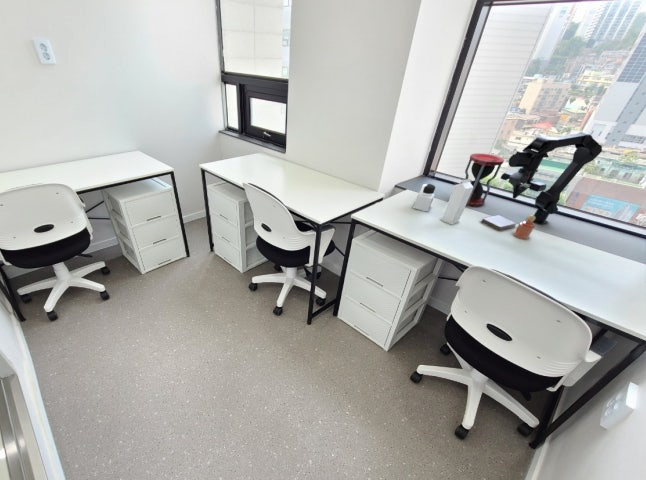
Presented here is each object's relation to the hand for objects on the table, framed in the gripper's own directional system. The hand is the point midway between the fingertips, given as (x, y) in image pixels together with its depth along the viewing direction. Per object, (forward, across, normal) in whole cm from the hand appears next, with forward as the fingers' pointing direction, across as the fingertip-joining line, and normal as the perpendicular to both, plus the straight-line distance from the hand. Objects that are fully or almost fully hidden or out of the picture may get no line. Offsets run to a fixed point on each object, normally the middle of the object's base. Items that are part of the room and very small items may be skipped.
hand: (513, 198), depth 154 cm
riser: (+13, +2, -5) cm, 14 cm away
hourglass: (+13, -26, +6) cm, 30 cm away
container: (+13, -28, -28) cm, 42 cm away
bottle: (+10, +10, -5) cm, 15 cm away
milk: (+13, -10, -26) cm, 31 cm away
